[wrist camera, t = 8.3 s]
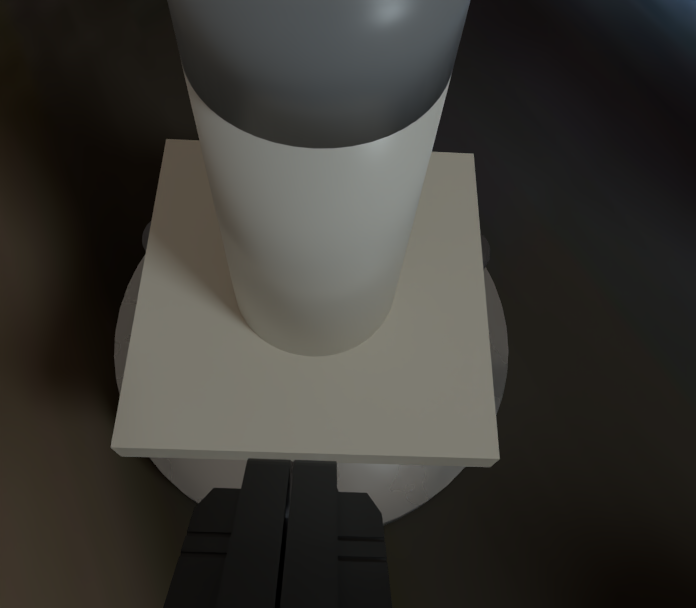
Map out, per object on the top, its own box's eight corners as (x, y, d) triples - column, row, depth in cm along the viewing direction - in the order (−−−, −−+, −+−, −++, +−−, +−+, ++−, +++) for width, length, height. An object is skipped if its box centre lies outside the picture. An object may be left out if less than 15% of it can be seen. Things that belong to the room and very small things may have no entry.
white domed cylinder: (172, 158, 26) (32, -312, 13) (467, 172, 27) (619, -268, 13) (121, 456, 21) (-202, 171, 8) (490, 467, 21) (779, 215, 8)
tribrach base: (311, 132, 33) (310, 73, 29) (570, 339, 29) (608, 301, 25) (44, 345, 27) (2, 306, 24) (318, 637, 23) (319, 644, 20)
